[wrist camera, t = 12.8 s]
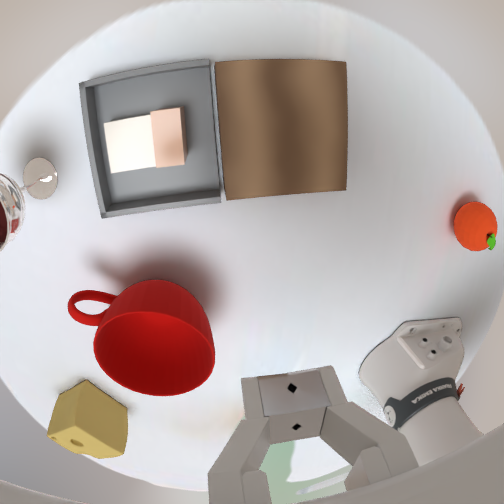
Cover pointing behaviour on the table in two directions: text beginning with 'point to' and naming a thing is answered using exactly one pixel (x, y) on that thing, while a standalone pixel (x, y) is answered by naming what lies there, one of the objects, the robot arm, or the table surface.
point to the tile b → (169, 136)
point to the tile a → (130, 143)
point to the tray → (141, 103)
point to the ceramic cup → (151, 337)
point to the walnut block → (282, 126)
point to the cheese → (89, 422)
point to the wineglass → (11, 198)
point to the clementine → (475, 226)
